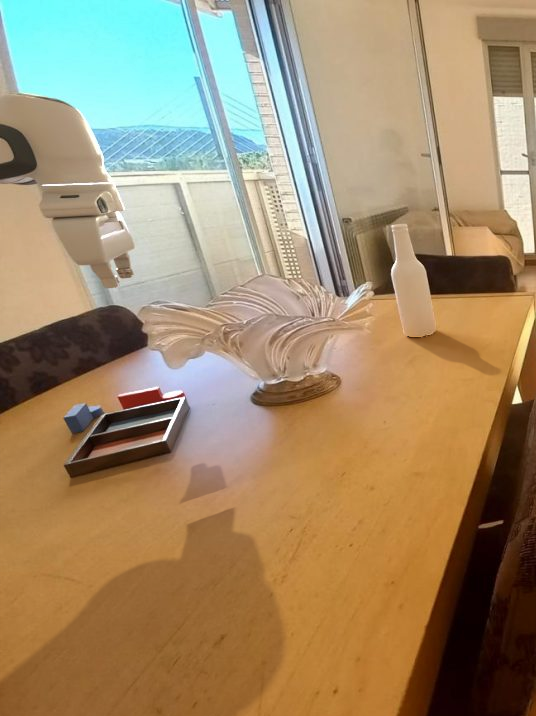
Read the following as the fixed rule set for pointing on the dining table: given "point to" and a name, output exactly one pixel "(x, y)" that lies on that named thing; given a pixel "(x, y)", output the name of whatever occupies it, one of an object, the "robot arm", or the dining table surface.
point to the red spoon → (147, 397)
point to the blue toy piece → (81, 417)
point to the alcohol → (411, 287)
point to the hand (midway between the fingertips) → (120, 282)
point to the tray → (129, 436)
